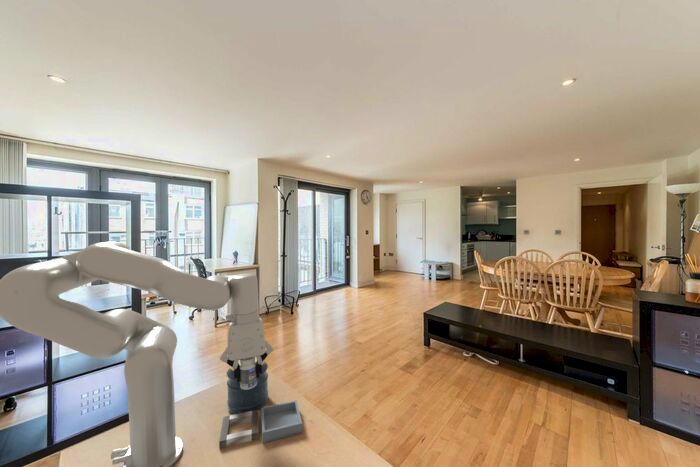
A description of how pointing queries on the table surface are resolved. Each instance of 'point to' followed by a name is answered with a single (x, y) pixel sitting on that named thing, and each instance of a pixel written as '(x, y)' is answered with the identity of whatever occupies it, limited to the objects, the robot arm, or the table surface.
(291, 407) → the tray
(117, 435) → the table surface
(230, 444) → the socket block
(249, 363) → the pill bottle
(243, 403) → the canister
